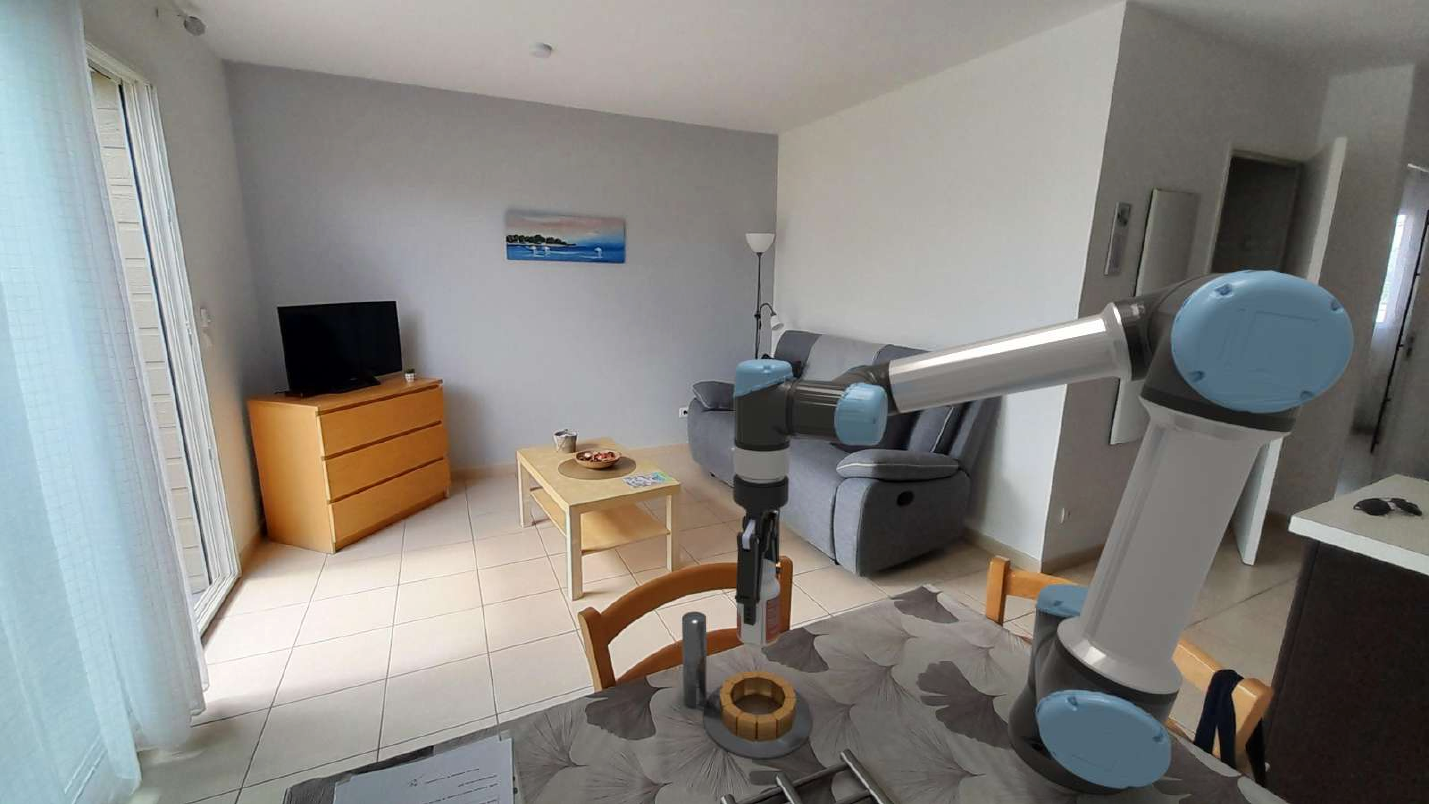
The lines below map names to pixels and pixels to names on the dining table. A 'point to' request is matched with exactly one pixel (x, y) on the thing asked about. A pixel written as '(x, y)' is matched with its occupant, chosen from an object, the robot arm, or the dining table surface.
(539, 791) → the dining table surface
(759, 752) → the round base with peg
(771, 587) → the pill bottle
